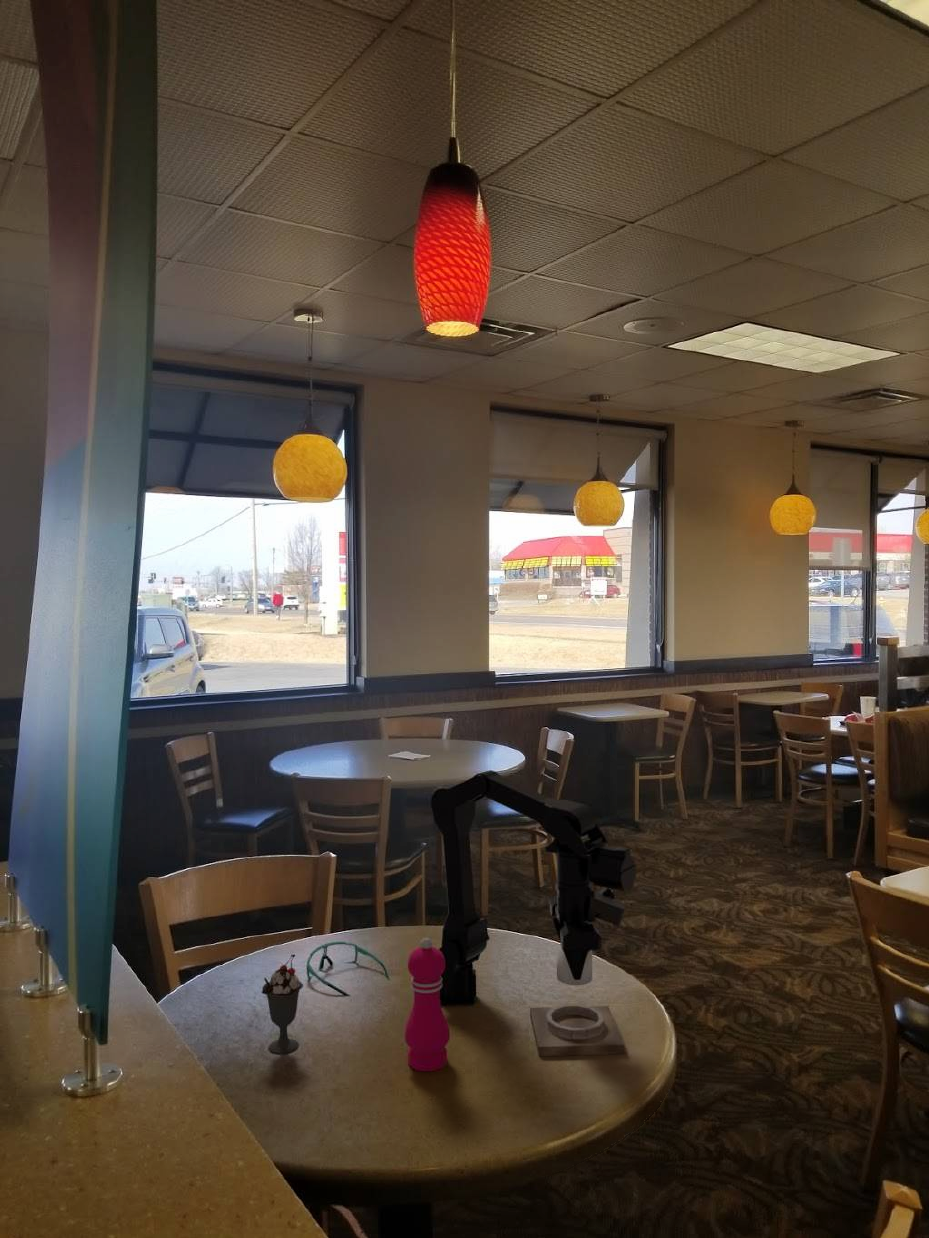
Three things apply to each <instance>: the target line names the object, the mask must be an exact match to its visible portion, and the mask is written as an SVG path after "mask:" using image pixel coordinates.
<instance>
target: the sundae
mask: <svg viewBox="0 0 929 1238" xmlns="http://www.w3.org/2000/svg"><path fill="white" fill-rule="evenodd" d="M295 957H296V954H291V955H290V958H289V960H288V961H287V962H286V963H285V964H282V965H281V966H280V968H278V969H277V970H275V971H274V972H273V973H272V974H271V975H270V976H271V977H270V981H268V979H267V978H266V977H264V978H263V980H264V981H265V983H264V985H263V986H262V990H261V993H262V994H263V995H266V998H267V1002H268V1009H269V1015H270V1020H271V1022H272V1023H273V1024H274V1025H275V1026H277V1027H278V1028H279V1036H278V1037H279V1038H278V1039H276V1040H274V1041H272V1042H271V1043H270V1044H269V1045H268V1050H269V1052H271V1053H273V1054H277V1055H285V1054H290V1053H293V1052H294V1051H295V1050H297V1049H298V1048H299V1046H300V1045H299V1044H300V1043H299V1042H298V1041H297V1040H296V1039H292V1038H289V1035H288V1026H289V1025H291V1023H293V1021H294V1020H295V1019H296V1015H297V1011H298V1003H299V1002H298V1001H299V993H300V990H301V989H303V987H304V984H303V983H302V982H301V980H300V978H299V977H298V976H297V975H296V974H295V973H296V969H295V968H293V959H294V958H295ZM289 962H290V967H289V968H288V967H287V965H288V964H289Z"/></svg>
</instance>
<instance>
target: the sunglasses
mask: <svg viewBox="0 0 929 1238" xmlns="http://www.w3.org/2000/svg"><path fill="white" fill-rule="evenodd" d="M336 945H346V946H354V947H353V948H354V951H355V956H354V960H351V961H349V962H344V963H343V964H355V963H357V961H358V953H360V954H362V955H364V956H369V957H371V958H372V959H373V960H374V961H375V962H377V964H378V965H380V966H381V968H383V970H384V974H385V975H386V978H387V980H388V981H390V980H391V979H390V975H389V972H388V970H387V967H386V965H385V964H384V963H383V961H381V959H379V958H378V957H376V956H375V955H374V954H372V953H371V952H370V951H368V950H366V949H364V948H362V947H360V946H358V945H357V944H356V943H351V942H346V941H332V942H327V943H325V944H322V945H319V946H318V947H316V948H315V949H313V950H312V951H311V953H310V954H309V956H308V958H307V961H306V975H307V976H306V977H307V979H308V981H309V980H312V978H313V976H314V977H315V978H316V979H318V981H320V982H321V983H322V984H323V985H326V986H328V987H329V988H331V989H333V990H334V991H336V992H338V993H339V994H341V995H343V996H346V997H351V994H349V993H347V992H345V991H344V990H343V989H340V988H339V987H337V986H335V985H334V984H333V983H331V982H329V981H327V980H325V979H324V978H322V977H320V976H319V975H318V974H317V972H316V971H315V970H314V969H313V967H312V966H311V964H310V962H311V960H312V957H313V956H314V955H315V954H316V953H317V952H319V951H320V950H322V949H323V953H322V956H321V958H320V961H319V966H318V972H319V971H321V970H323V969H324V966H325V960H326V961H327V963H328V964H329V966H331V967H333V966H335V964H334V962H333V960H332V959H331V958H330V957H329V956H328V955H327V954H328V947H330V946H336Z"/></svg>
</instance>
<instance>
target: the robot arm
mask: <svg viewBox="0 0 929 1238" xmlns="http://www.w3.org/2000/svg"><path fill="white" fill-rule="evenodd" d="M485 798H487V799H489V800H491V801H493V802H494V803H495V802H496V803H497V804H499V805H501V806H504V807H505V808H507V809H510V810H513V812H514V811H515V812H517V813H519V814H521V815H523V816H525V817H527V818H529V819H531V820H533V821H535V822H536V823H538V824H539V825H540V827H541V828H542V830H543V831H544V832H545V833H546V834H548V835H549V836H551V837H552V838H553V840H552V842H551V843H549V844H548V845H547V846H546V847H544V849H545V850H544V851H545V852H547V853H551V854H552V853H553V854H556V881H555V885H554V887H555V891H556V895H554V896H553V897H551V899H550V901H549V913H550V916H551V917H552V918H551V920H552V924H553V926H554V929H555V931H556V933H557V937H558V940H559V944H561V946H562V949H563V952H564V954H565V957H566V960H567V962H568V965H569V967H570V970H571V973H572V975H573V978H574V980H580V979H581V976H582V972H583V968H584V964H585V960H586V957H587V954H588V952H589V951H590V950H592V951H600V950H601V949H602V935H601V933H600V931H599V930H598V928H597V927H596V926H595V925H594V924H592V923H596V919H598V920H601V921H603V922H607V923H609V924H612V926H614V927H620V926H621V925H622V924H621V923H622V921H623V918H624V915H625V913H626V906H625V905H624V903H623V902H622V901H621V900H619V898H617V897H616V898H615V893H614V891H613V890H616V891H621V892H625V893H626V892H627V893H628V892H630V891H631V890H632V889H633V887H634V884H635V883H636V882H635V881H636V876H637V865H636V864H635V860H634V857H632V855H631V848H628V847H621V846H620V847H618V846H611V845H610V846H609V842H610V841H609V840H608V839H607V837H606V836H605V833H604V832H603V831H602V829H601V828H600V826H599V824H598V823H597V821H596V817H595V815H594V812H593V809H592V808H591V807H589V806H588V805H586V804H584V803H580V802H576V801H572V800H568V799H567V800H566V799H558V798H557V799H556V798H552V797H549V796H546V795H545V794H542V793H540V792H538V791H535V790H534V789H531V788H529V787H526V786H525V785H522V784H521V783H519V782H516V781H513V780H512V779H509V778H507V777H504V776H502V775H501V774H499V773H498V772H497V771H495V770H491V769H490V770H486V771H481V772H480V773H479V772H478V773H476V774H474V775H473V777H471V778H468V779H467V780H464V781H463V782H457V783H455V784H451V785H447V786H444V787H443V786H442V787H440V788H438V789H436V790H435V791H434V793H433V794H432V795H431V796H430V807H431V812H432V816H433V821H434V824H435V825H436V827H437V828H438V830H439V831H440V833H441V835H442V840H443V854H444V855H443V856H444V857H443V858H444V868H445V880H446V881H445V882H446V895H447V897H446V898H447V907H448V913H447V916H446V920H445V921H444V925H443V927H442V930H441V931H442V933H441V947H440V948H439V950H440V951H441V952H442V954H443V956H444V958H445V969H444V972H443V973H442V974H441V977H442V988H441V989H440V994H439V997H440V1005H441V1006H447V1005H449V1006H452V1005H453V1006H456V1005H463V1006H464V1005H474V1004H475V998H476V997H477V971H476V969H474V965H473V963H474V962H476V961H479V959H480V956H481V954H482V953H483V952H484V951H485V949H486V948H487V945H488V941H489V940H490V936H489V933H488V919H487V917H486V918H485V917H483V918H482V917H481V916H480V915H479V914H478V911H477V910H476V906H475V895H474V894H475V892H474V879H473V878H474V877H473V869H472V868H473V866H472V856H471V855H472V854H471V853H472V852H471V843H470V842H471V840H470V830H471V828H472V825H473V822H474V819H475V816H476V804H477V802H479V801H481V800H483V799H485ZM585 838H589V839H588V840H586V841H583V839H585ZM592 884H593V885H594V886H596V887H601V889H600V890H599V891H595V890H594V889H593V888H592ZM589 923H590V924H589Z"/></svg>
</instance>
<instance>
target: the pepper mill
mask: <svg viewBox="0 0 929 1238" xmlns="http://www.w3.org/2000/svg"><path fill="white" fill-rule="evenodd" d="M439 949H440V948H439ZM439 949H438V948H437V947H435V946H433V942H432V940H431V938H428V937H424V938H423V939H421V942H420V946H419V947H417V948H415V949H413V951H412V952H411V953H410V955H409V957H408V961H407V969H408V972H409V973H410V975H411V976H412V977H411V979H410V982H411V985H410V987H411V989H412V990H413V994H414V995H413V996H414V997H413V1005H412V1009H411V1012H410V1014H409V1017H408V1019H407V1021H406V1025H405V1029H404V1042H405V1043H406V1044H407V1046H408V1048H409V1049H408V1051H407V1063H408V1065H409V1066H410V1067H411V1069H414V1070H416V1071H419V1072H434V1071H437V1070H440V1069H442V1068H443V1067H445V1066H446V1064H447V1062H448V1050H447V1048H446V1046H447V1045H448V1043H449V1041H450V1037H451V1034H450V1033H451V1032H450V1027H449V1022H448V1020H447V1018H446V1015H445V1014H444V1012H443V1009H442V1005H440V997H439V994H440V989H441V988H442V977H441V974H442V973H443V972H444V969H445V958H444V956H443V954H442V952H441V951H440V950H439Z"/></svg>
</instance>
